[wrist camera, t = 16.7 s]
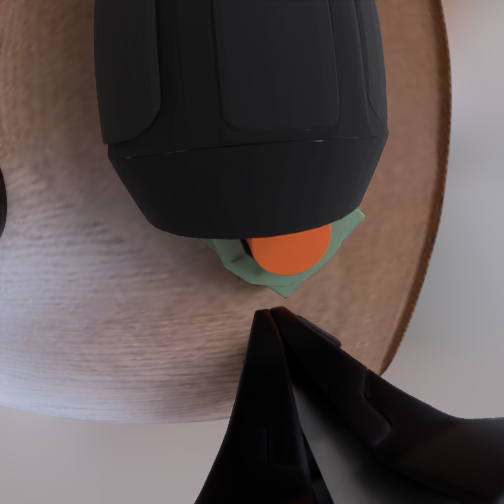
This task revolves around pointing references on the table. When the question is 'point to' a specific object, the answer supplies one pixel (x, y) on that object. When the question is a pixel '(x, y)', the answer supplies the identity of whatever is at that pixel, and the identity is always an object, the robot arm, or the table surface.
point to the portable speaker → (241, 110)
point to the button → (291, 251)
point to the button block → (244, 265)
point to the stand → (2, 203)
